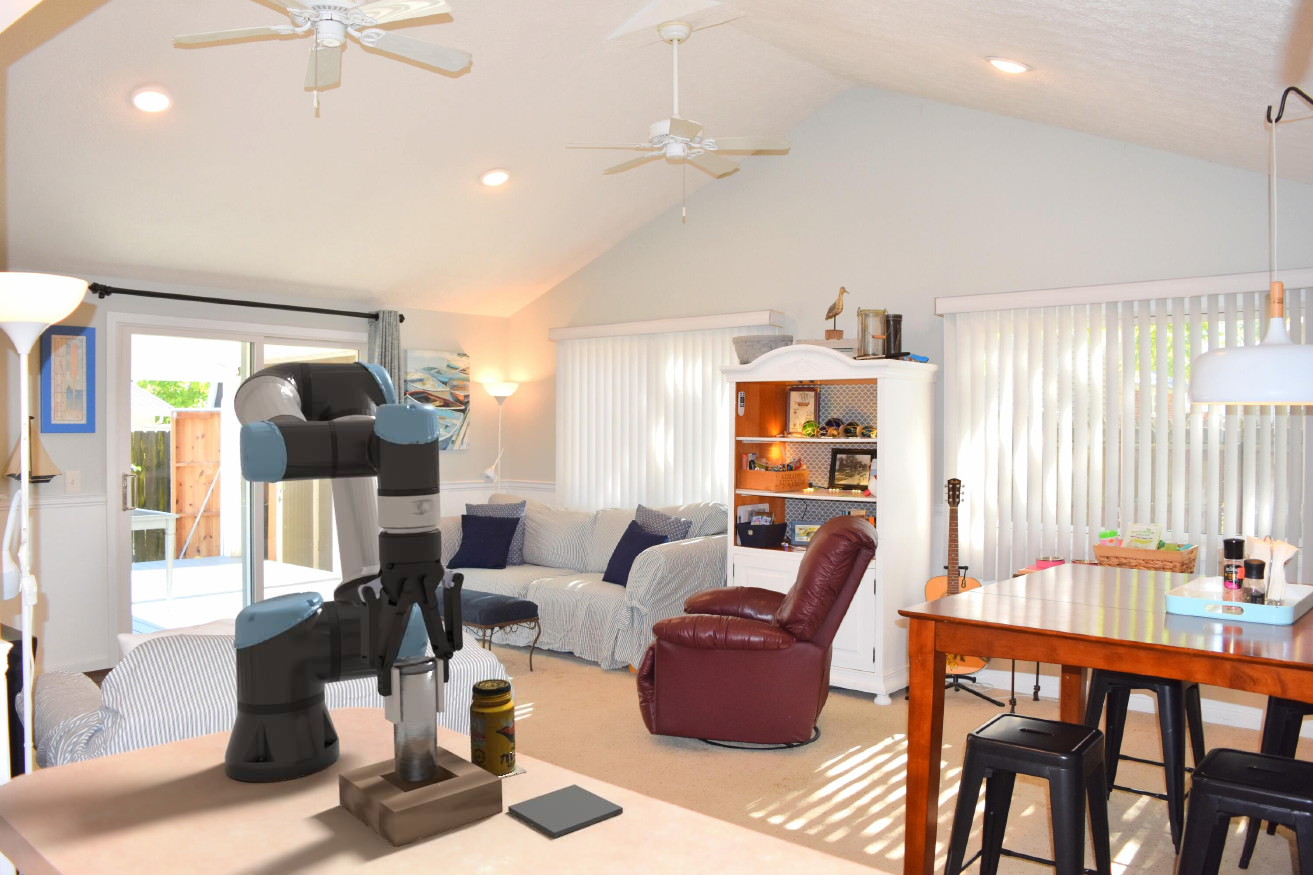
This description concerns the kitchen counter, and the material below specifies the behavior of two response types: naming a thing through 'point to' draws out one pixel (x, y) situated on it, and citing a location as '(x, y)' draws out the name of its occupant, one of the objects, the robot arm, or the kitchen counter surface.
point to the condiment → (493, 728)
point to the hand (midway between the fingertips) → (415, 714)
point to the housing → (420, 798)
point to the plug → (416, 720)
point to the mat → (565, 810)
